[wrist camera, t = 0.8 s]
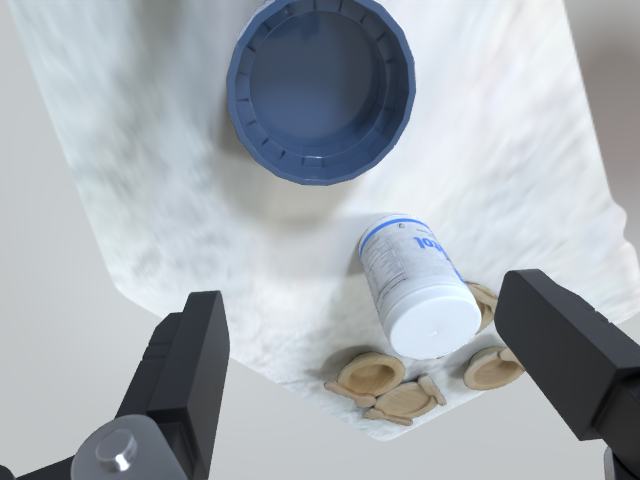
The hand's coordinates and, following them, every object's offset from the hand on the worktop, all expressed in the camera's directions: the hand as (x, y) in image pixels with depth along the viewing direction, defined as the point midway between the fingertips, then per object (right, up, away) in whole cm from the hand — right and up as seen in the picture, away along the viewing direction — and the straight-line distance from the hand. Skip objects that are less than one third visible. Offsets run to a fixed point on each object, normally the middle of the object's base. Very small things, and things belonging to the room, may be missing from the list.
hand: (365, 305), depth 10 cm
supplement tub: (+8, +2, +37) cm, 37 cm away
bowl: (-2, +17, +24) cm, 29 cm away
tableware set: (+18, -19, +54) cm, 59 cm away
